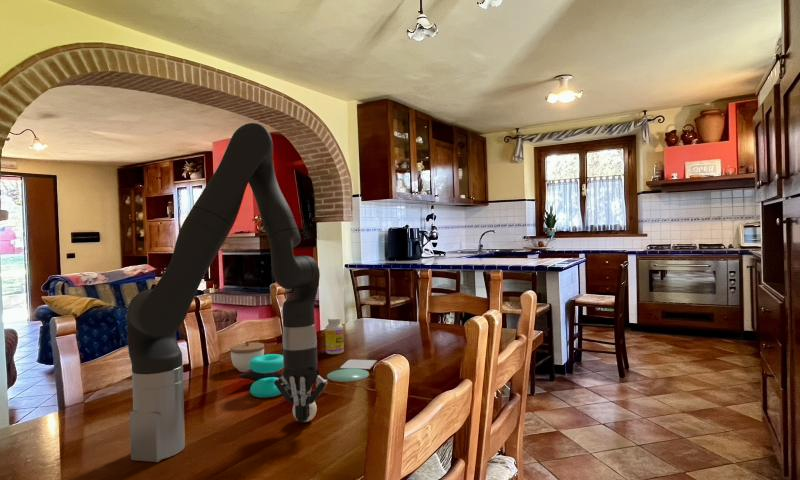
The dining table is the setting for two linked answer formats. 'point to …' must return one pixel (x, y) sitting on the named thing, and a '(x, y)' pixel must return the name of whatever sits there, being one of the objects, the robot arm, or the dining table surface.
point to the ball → (312, 411)
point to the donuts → (266, 365)
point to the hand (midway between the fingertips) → (302, 420)
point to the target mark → (348, 375)
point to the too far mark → (358, 364)
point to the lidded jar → (245, 354)
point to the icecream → (259, 375)
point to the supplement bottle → (334, 336)
